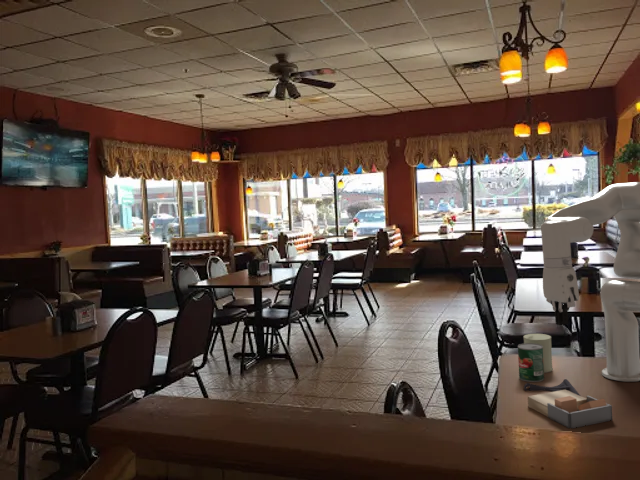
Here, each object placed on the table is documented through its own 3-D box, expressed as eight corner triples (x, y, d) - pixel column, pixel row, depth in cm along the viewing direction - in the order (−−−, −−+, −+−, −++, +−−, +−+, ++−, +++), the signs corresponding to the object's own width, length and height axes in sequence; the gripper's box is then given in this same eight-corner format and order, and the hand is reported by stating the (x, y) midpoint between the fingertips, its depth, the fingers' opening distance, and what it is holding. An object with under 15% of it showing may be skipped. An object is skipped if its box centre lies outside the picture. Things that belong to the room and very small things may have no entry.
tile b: (569, 395, 151) (576, 398, 148) (570, 413, 151) (577, 416, 149) (554, 398, 149) (561, 401, 147) (555, 416, 150) (561, 420, 147)
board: (565, 399, 163) (565, 389, 163) (588, 409, 154) (587, 399, 154) (528, 406, 159) (527, 396, 159) (548, 417, 151) (548, 406, 151)
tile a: (604, 398, 147) (608, 407, 146) (592, 403, 152) (596, 412, 150) (588, 401, 146) (592, 411, 145) (577, 406, 150) (581, 415, 149)
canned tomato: (514, 379, 184) (513, 347, 183) (525, 373, 189) (524, 342, 188) (538, 383, 178) (536, 350, 177) (548, 377, 183) (546, 345, 183)
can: (519, 367, 196) (517, 334, 195) (540, 363, 199) (539, 331, 198) (536, 374, 187) (535, 339, 186) (558, 370, 190) (557, 336, 189)
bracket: (520, 384, 180) (519, 376, 180) (568, 383, 178) (568, 375, 177) (528, 400, 166) (528, 391, 166) (581, 400, 163) (580, 391, 163)
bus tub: (588, 409, 154) (588, 395, 154) (612, 420, 146) (611, 405, 146) (548, 417, 151) (547, 403, 150) (569, 428, 142) (569, 413, 142)
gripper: (587, 263, 154) (591, 327, 155) (550, 258, 168) (554, 317, 170) (565, 267, 152) (570, 331, 153) (529, 262, 166) (534, 321, 168)
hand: (562, 324), depth 161 cm, fingers closed
